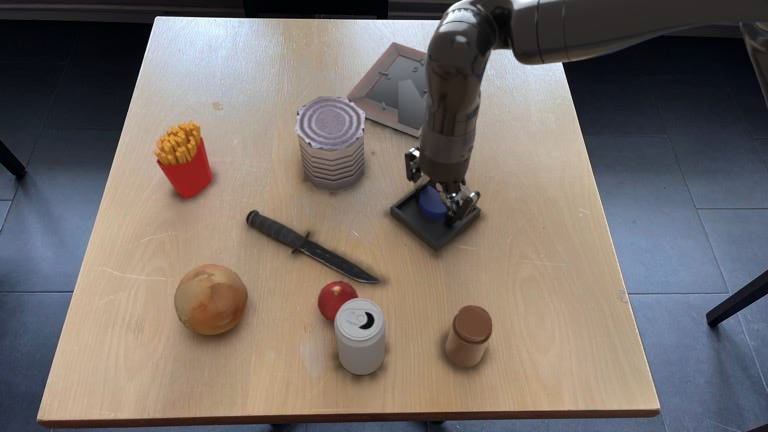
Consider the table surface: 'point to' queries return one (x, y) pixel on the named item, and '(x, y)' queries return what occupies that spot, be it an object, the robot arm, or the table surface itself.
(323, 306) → the onion
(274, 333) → the table surface
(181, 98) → the table surface
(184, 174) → the french fries
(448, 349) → the jar
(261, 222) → the knife
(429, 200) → the lid
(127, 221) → the table surface
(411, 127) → the picture frame
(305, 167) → the can
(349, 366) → the beverage can
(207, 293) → the onion
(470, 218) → the tray
